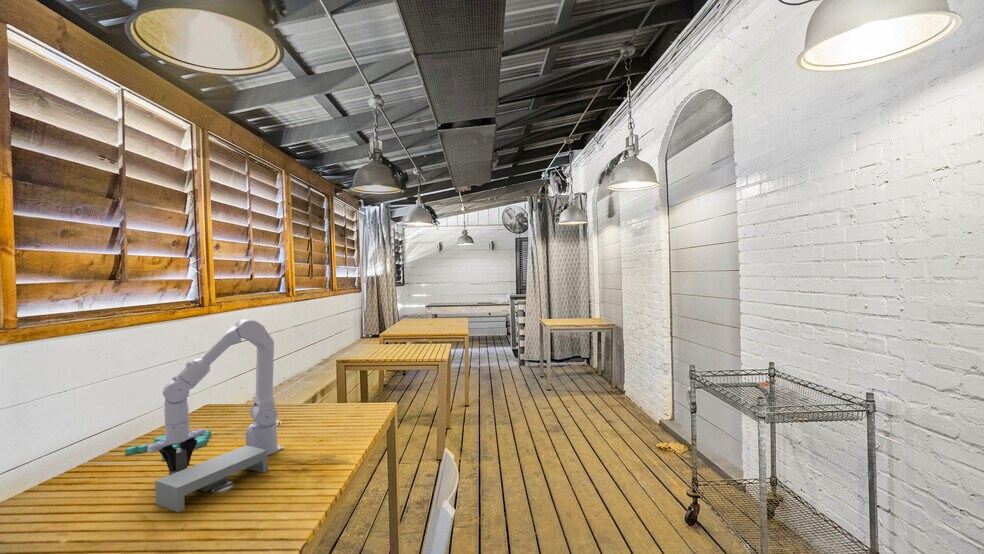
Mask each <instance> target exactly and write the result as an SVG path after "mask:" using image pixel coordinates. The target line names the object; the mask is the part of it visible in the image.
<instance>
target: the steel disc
mask: <svg viewBox="0 0 984 554" xmlns="http://www.w3.org/2000/svg"><path fill="white" fill-rule="evenodd" d="M233 487H234V482H233V481H227V482H222V483H219V484H217V485H215V486H213V487H212V489H211V492H212V493H213V494H220V493H225V492H227V491H229V490H231V489H233ZM219 492H220V493H219Z"/></svg>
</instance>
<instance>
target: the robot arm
mask: <svg viewBox="0 0 984 554" xmlns="http://www.w3.org/2000/svg"><path fill="white" fill-rule="evenodd" d="M243 339H244V340H246V341H248V342H249V343H251V344H252V345H253V346H255V347H256V372H255V373H256V374H255V394H254V395H255V396H254V399H253V405H252V406H251V409H250V412H249V413H250V417H251V418H252V419H253V423H251V424H249V426H248V427H247V428H246V431H245V446H246V445H247V446H251V447H255V448H260V449H264V450H267V454H268V456H269V455H272V454H273V453H276V452H278V451H281V450H282V449H284V446H281V445H278V428H277V427H278V425H277V424H278V422H277V421H276V420H277V418H278V411H277V409H276V407H275V400H274V396H273V395H274V394H273V393H274V390H273V388H274V359H275V358H274V357H275V355H274V354H275V353H274V351H275V349H274V347H275V342H274V339H273V337H272V336H271V335H270V334H269V332H268V330H266V327H265V326H264V325H262V324H261V323H260V322H258V321H257V320H254V319H253V320H252V319H249V318H242V319H239V320H238V321H237V322H236V323H235V325H233V326H231V327H229V329H227V331H225V333H223V334H222V336H221V337H219V338H218V339H217V341H216V342H215V343H214V344H213V345H212V346H211V347H210V348H209V349H208V350H207V351H206V352H205V354H204V355H202V356H201V358H196V359H195V358H194V359H192V360H191V361H187V362H186V363H185V365H184V366H186V367H184V368H182V370H181V371H180V372H179V373H178V374H177V375H176V376H175V375H173V377H172V378H171V380H172V381H169V382H168V383H167V384H166V385H165V386H164V387H163V390H162V396H163V397H164V405H163V406H164V410H163V411H164V412H163V413H164V431H165V433H164V434H165V437H166V438H165V439H163V440H161V441H158V442H156V443H154V442H153V443H154V444H153V443H150V444H151V445H150V444H147V445H148V446H147V451H146V452H147V453H148V454H154V453H156V452H159V453H160V454H161V457H162V456H163V457H164V459H165V460H164V461H165V463H166V466H167V468H168V472H169V471H171V472H174V471H175V469H176V464H175V457H176V451H177V449H175V448H174V447H172V446H173V445H176V444H179V443H180V448H182V449H186V450H187V465H188V467H190V462H191V458H192V456H193V455H192V454H193V452H194V450H195V449H194V448H195V446H196V444H197V440H195V438H197V437H200V436H205V435H206V430H207V429H206V428H198V430H197V429H195V430H190V413H189V409H190V407H189V404H188V397H189V395H190V390H192V389H194V388H195V387H196V386H197V385H198V384H199V383H200V382H201V381H202V380H203V379H204V378H205V376H207V375H208V373H209V372H210V371H211V365H212V364H213V363H215V361H216V360H217V359H218V358H220V356H221V355H222V354H223V353H225V351H227V349H229V348H230V347H231V346H233V345H235V344H236V345H237V344H239V343H242V342H243Z"/></svg>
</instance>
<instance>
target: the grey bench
mask: <svg viewBox="0 0 984 554" xmlns="http://www.w3.org/2000/svg"><path fill="white" fill-rule="evenodd" d="M268 456H269V455H268V454H267V450H264V449H260V448H255V447H251V446H247V445H246V444H245V445H244V446H241V447H239V448H236V449H233V450H230V451H228V452H225V453H222V454H220V455H218V456H216V457H213V458H210V459H208V460H207V459H206V460H205V461H202V462H200V463H197V464H195V465H194V464H193V465H192V466H188V468H186V469H184V470H181V471H179V472H176V473H174V474H171V475H169V474H168V475H166V476H164V477H161V478H159V479H158V478H157V479H155V480H154V483H155V484H154V485H155V505H157V506H160V507H163V508H166V509H168V510H171V511H173V512H176V513H180V512H182V511H184V510H185V509H186V508H185V507H186V505H185V496H186V495H189V494H190V493H193V492H195V491H197V490H200V488H202V487H204V486H206V485H209V484H211V483H213V482H216V481H218V480H220V479H222V478H225V477H229V476H231V475H233V474H236V473H238V472H240V471H243V470H245V469H248V470H253V471H255V472H256V471H257V472H260V473H262V474H264V473H266V472H267V471H269V458H268Z"/></svg>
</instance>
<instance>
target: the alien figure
mask: <svg viewBox="0 0 984 554" xmlns="http://www.w3.org/2000/svg"><path fill="white" fill-rule="evenodd" d="M198 429H199V428H198ZM198 429H196V430H198ZM210 436H212V430H207V429H206V435H205V436H200V437H197V438H195V440H197V444H196V446H195V448H194V450H196V449H199V448H201V447H203V445H204V446H205V445H207V444H208V442H209V439H211V437H210ZM165 438H166V437H165V435H161V436H158V437H156V438H153V443H150V444H145V443H144V444H142V445H138V446H134V445H133V446H129V447H126V448H125V450H124V452H125V455H128V456H131V455H134V454H136V453H141V454H143V453H145V452H147V446H148V445H151V444H154V443H156V442H158V441H161V440H163V439H165ZM172 447H174V448H175V449H177V448H181V447H180V443H179V444H176V445H173V446H172ZM198 447H199V448H198ZM161 460H162V461H163V460H164V461H165V459H164V457H163V456H162V455H161Z"/></svg>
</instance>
